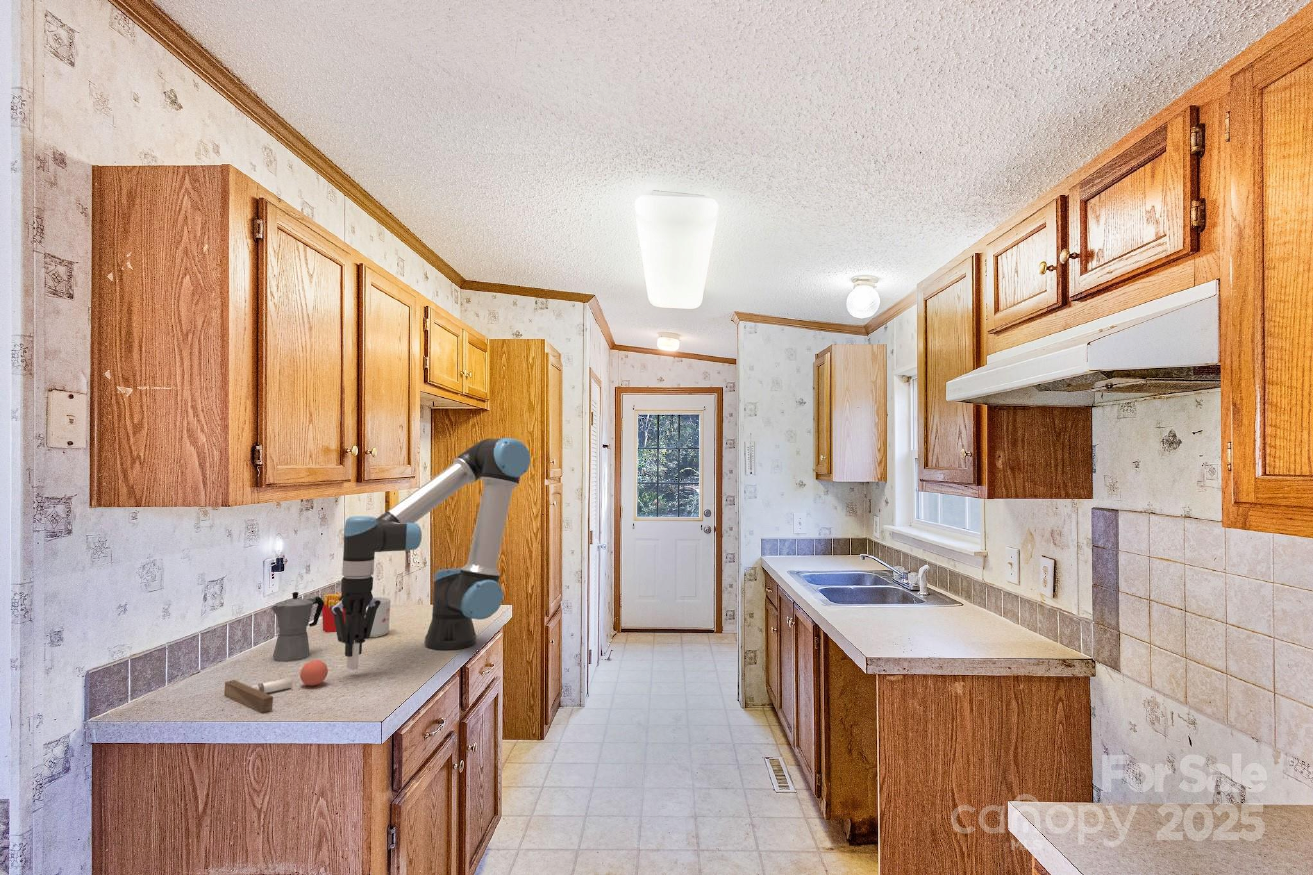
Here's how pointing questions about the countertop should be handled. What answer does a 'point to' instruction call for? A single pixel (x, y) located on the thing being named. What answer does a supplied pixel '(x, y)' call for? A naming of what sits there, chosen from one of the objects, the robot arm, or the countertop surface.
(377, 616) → the mug
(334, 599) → the french fries
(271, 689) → the pin
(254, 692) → the long wooden block
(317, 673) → the ball
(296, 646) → the coffeepot
